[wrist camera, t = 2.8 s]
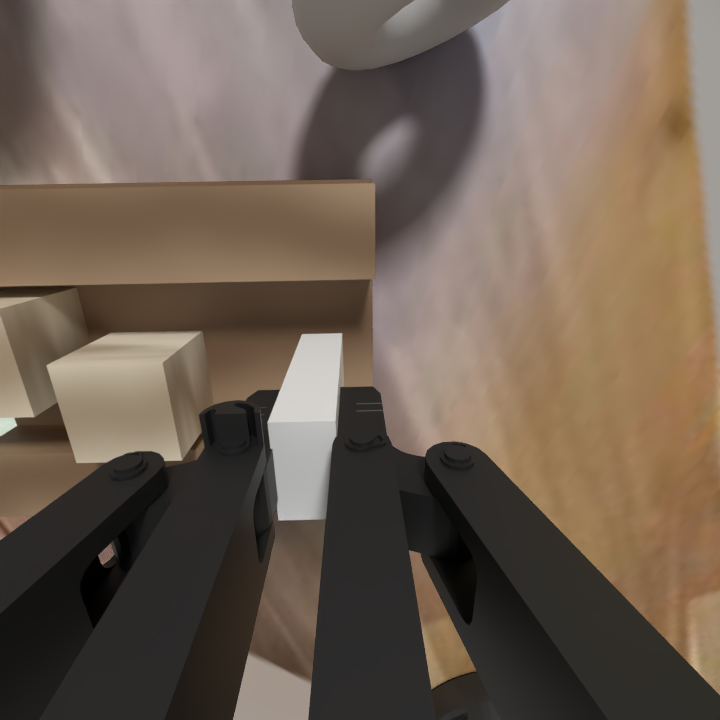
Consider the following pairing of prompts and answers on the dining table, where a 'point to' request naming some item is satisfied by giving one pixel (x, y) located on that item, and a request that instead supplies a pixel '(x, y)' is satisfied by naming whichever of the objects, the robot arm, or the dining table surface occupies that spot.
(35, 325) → the tan wooden cube
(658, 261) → the dining table surface
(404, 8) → the donut
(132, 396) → the beige wooden cube
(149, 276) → the slot board
